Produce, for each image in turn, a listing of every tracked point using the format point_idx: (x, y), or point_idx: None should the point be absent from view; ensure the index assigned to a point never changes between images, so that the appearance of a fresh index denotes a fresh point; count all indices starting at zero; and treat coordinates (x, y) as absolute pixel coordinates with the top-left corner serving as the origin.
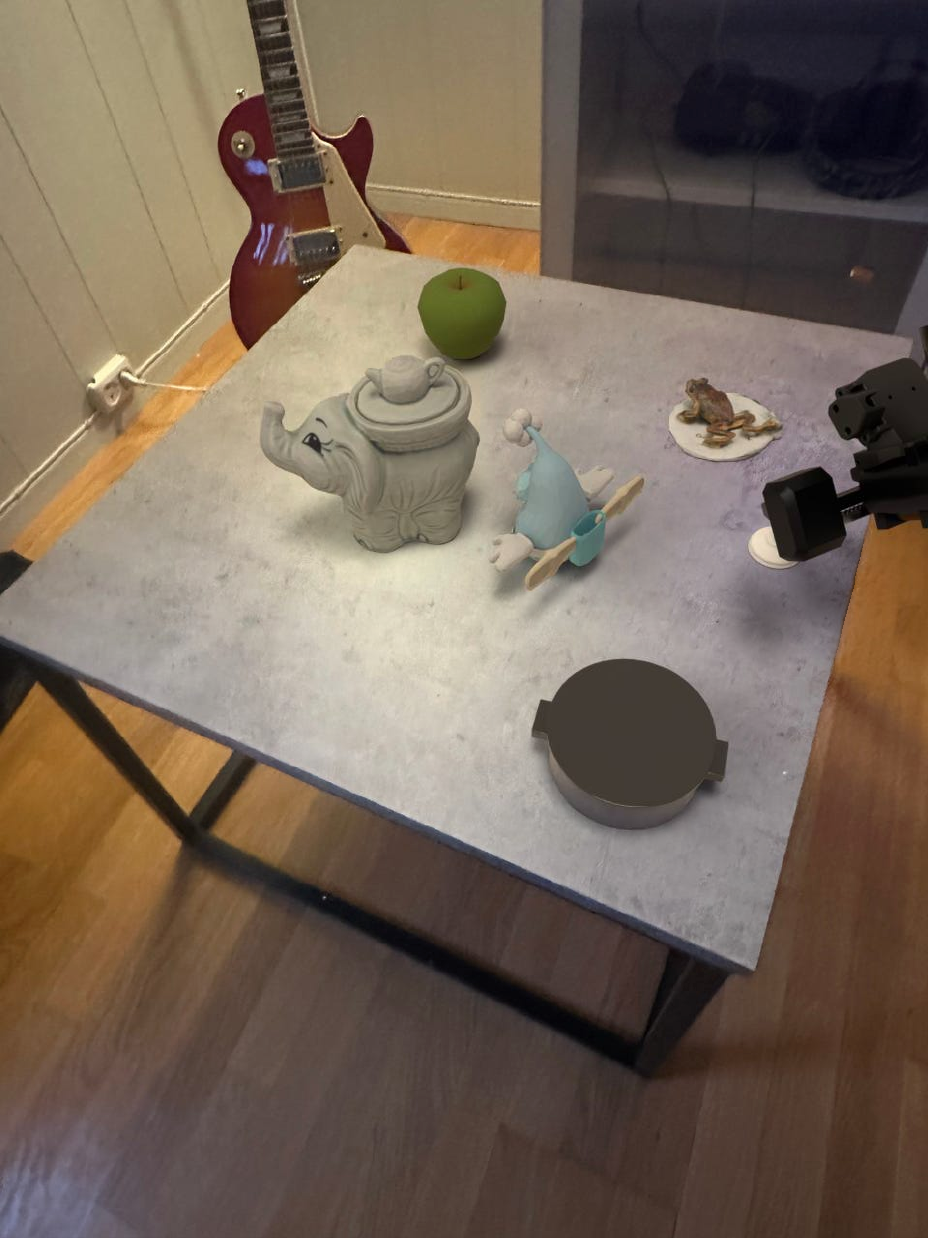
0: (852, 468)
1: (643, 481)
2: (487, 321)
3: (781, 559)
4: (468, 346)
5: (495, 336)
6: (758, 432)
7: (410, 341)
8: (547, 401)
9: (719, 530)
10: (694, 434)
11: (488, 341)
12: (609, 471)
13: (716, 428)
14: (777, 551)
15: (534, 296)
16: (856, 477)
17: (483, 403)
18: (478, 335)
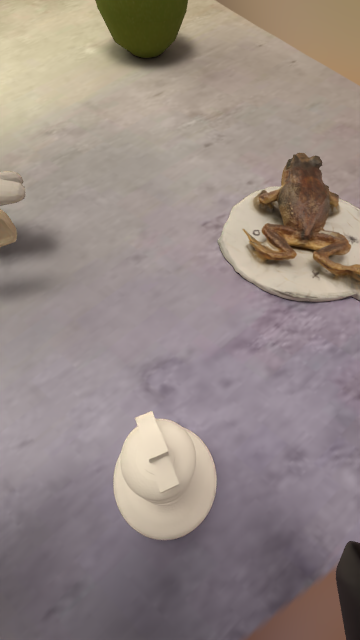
0: (355, 554)
1: (5, 223)
2: None
3: (134, 517)
4: (119, 25)
5: (159, 32)
6: (334, 273)
7: None
8: (152, 118)
9: (129, 377)
10: (253, 228)
11: (145, 30)
12: (9, 186)
13: (275, 232)
14: (139, 497)
15: (260, 40)
16: (347, 593)
17: (97, 92)
18: (126, 9)
